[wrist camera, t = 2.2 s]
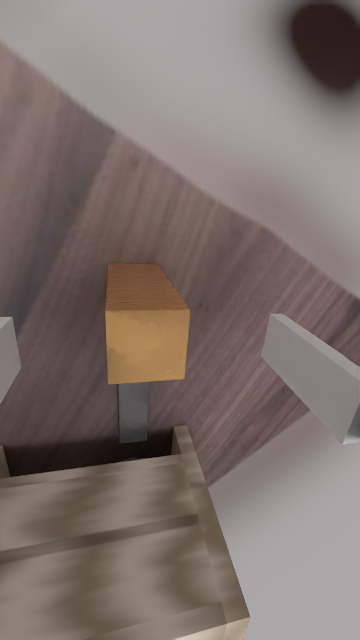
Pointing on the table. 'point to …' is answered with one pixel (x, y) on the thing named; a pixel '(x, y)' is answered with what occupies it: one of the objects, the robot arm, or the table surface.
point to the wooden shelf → (116, 553)
